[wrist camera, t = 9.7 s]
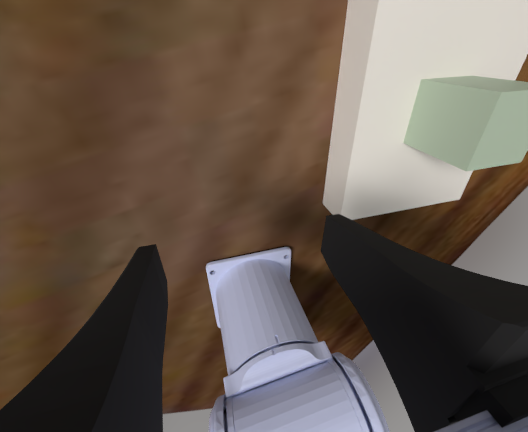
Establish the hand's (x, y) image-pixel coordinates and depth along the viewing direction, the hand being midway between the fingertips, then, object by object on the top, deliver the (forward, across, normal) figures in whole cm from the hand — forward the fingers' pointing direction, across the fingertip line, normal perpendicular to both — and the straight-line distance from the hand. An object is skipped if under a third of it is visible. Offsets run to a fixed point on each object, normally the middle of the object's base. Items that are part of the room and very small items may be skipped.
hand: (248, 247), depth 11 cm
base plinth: (+10, -15, -3) cm, 18 cm away
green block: (+6, -15, -3) cm, 16 cm away
